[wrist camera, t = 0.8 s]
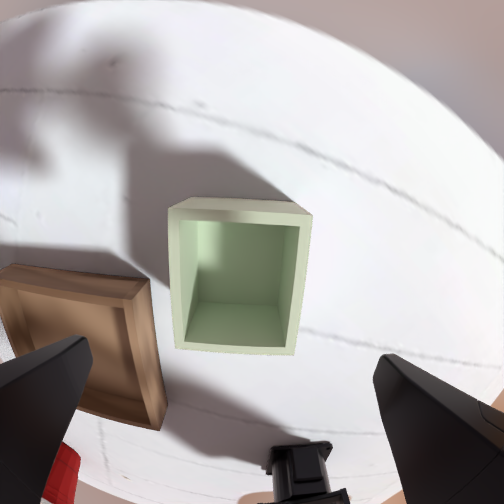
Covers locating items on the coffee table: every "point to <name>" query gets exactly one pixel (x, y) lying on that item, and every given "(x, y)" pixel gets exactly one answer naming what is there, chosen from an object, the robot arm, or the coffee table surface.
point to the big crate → (92, 335)
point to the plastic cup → (62, 477)
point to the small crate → (237, 274)
